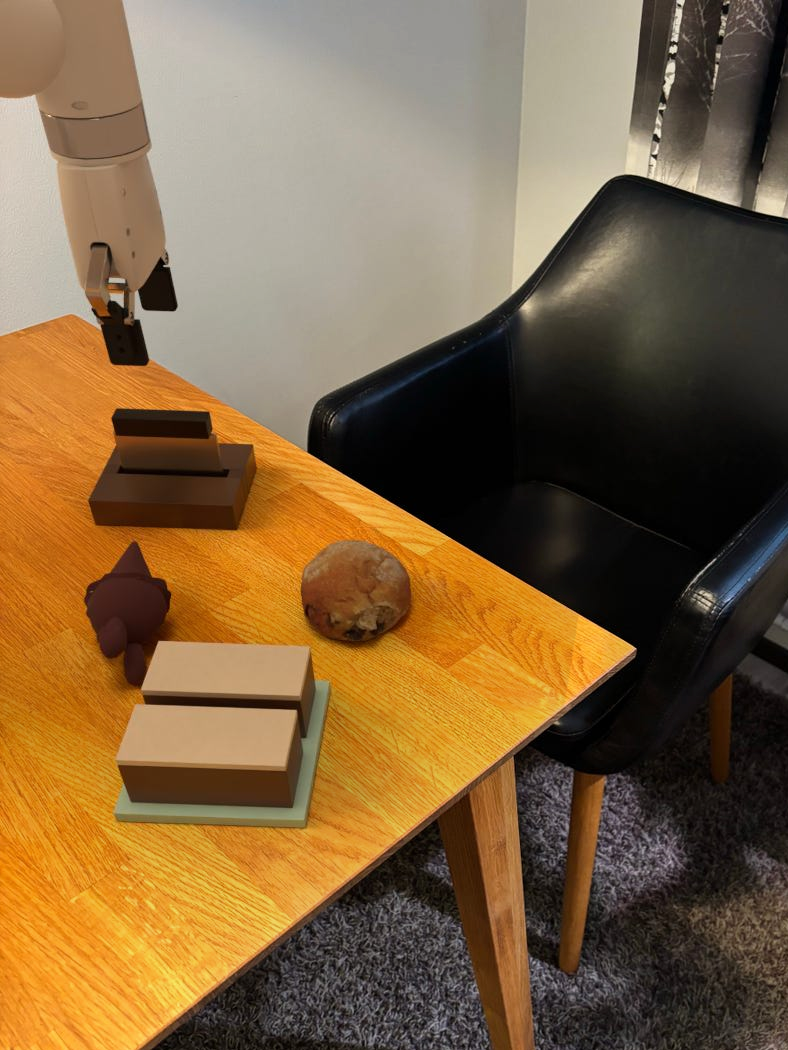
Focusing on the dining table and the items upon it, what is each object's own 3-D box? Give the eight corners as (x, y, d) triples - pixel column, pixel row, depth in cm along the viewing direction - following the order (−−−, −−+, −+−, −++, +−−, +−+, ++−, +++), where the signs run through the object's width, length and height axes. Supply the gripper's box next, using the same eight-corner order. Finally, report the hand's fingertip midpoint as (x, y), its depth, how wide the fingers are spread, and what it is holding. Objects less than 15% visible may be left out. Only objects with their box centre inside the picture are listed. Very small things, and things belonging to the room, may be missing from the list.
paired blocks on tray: (116, 821, 74) (96, 770, 70) (163, 682, 84) (148, 631, 80) (305, 828, 74) (297, 778, 70) (330, 688, 84) (324, 637, 80)
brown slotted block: (95, 525, 99) (87, 500, 96) (125, 463, 106) (118, 439, 104) (237, 530, 99) (232, 505, 96) (257, 468, 106) (253, 444, 104)
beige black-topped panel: (127, 499, 102) (105, 417, 95) (132, 488, 103) (111, 407, 96) (225, 502, 102) (210, 421, 95) (229, 492, 103) (214, 411, 96)
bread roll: (418, 619, 95) (424, 538, 93) (393, 655, 86) (400, 565, 83) (317, 605, 96) (321, 524, 94) (282, 639, 87) (285, 549, 84)
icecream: (75, 526, 88) (55, 656, 79) (154, 504, 88) (143, 632, 78) (114, 577, 94) (99, 705, 84) (189, 557, 93) (182, 683, 83)
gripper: (83, 91, 83) (131, 289, 95) (6, 169, 70) (72, 385, 82) (174, 94, 82) (210, 292, 95) (112, 173, 70) (163, 388, 82)
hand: (146, 335), depth 88 cm, fingers open, 9 cm apart
